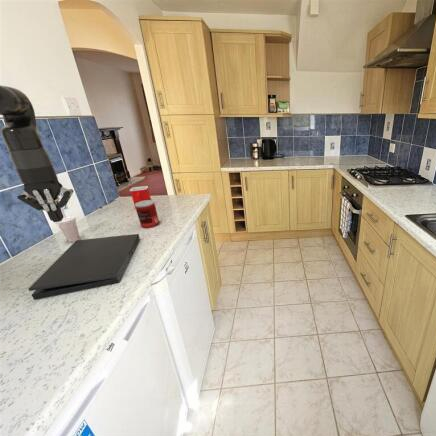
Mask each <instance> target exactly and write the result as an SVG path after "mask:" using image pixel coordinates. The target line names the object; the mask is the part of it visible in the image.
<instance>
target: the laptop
mask: <svg viewBox="0 0 436 436" xmlns="http://www.w3.org/2000/svg"><path fill="white" fill-rule="evenodd" d="M140 241H141V238H140V235H139V236H138V238H137V240H136V242H135V244H134V246H133V248H132V250H131V252H130V254H129V256H128V258H127V260H126V262H125V264H124V266H123V267H122V269H121V271H120V273H119V275H118V277H117V278H112V279H105V280H99V281H92V282H86V283H79V284H72V285H66V286H59V287H53V288H46V289H39V290H34V291H33V292H32V294H31V297H32V299H33V301H35V300H36V301H37V300H41V299H45V298H51V297H55V296H60V295H65V294H70V293H74V292H79V291H85V290H90V289H96V288H100V287H106V286H110V285H115V284H119V283H120V282H121V280H122V278H123V275H124V274H125V272H126V269H127V268H128V266H129V263H130V262H131V259H132V257H133V255H134V253H135V251H136V249H137V247H138V245H139V243H140Z"/></svg>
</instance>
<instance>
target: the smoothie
mask: <svg viewBox="0 0 436 436" xmlns="http://www.w3.org/2000/svg"><path fill="white" fill-rule="evenodd" d="M61 211H62V214H63V216H64V218H63V219H62V221H60V222H54V224H55V225H57V227H58V228H59V229H60V231H61V232H62V234H63V235H64V237H65V239H67V241H68V243H74V242H75V241H76V240H81V237H80V232H79V228H78V225H77V224H78V223H77V221H76V220H77V218H76V216H74V215H73V216H72V215H70V216H66V213H65V211H64V209H63V208H61Z"/></svg>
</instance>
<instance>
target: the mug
mask: <svg viewBox="0 0 436 436" xmlns="http://www.w3.org/2000/svg"><path fill="white" fill-rule="evenodd" d="M129 192H130V195H131V198H132V201H133V206H134V208H135V210H136V207H135V204H136V203H138V202H140V201H145V200H152V198H151V193H150V190H149V186H148V185H142V186H135V187H134V186H133V187H131V188H130V189H129Z"/></svg>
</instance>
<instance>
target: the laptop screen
mask: <svg viewBox="0 0 436 436" xmlns="http://www.w3.org/2000/svg"><path fill="white" fill-rule="evenodd" d="M138 236H139V237H140V235H139V233H133V234H124V235H114V236H104V237H95V238H86V239H80V240H76V241H75V242H72V244H71V245H70V246H69V247H68V248H67V249H66V250H65V251H64V252H63V253H62V254H61V255H60V256H59V257H58V258H57V259H56V260H55V261H54V262H53V263H52V264H51V265H50V266H49V267H48V268H47V269H46V270H45V271H44V272H43V273H42V274H41V275H40V276H39V277H38V278H37V279H36V280H35V281H34V282H33V283H32V284H31V285H30V286H29V287H28V288H27V290H28V292H34V291H35V290H39V289H46V288H53V287H59V286H66V285H72V284H79V283H86V282H92V281H99V280H105V279H112V278H117V277H118V275H119V273H120V271H121V269H122V267H123V266H124V264H125V262H126V260H127V258H128V256H129V254H130V252H131V250H132V248H133V246H134V244H135V242H136V240H137V238H138Z"/></svg>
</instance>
